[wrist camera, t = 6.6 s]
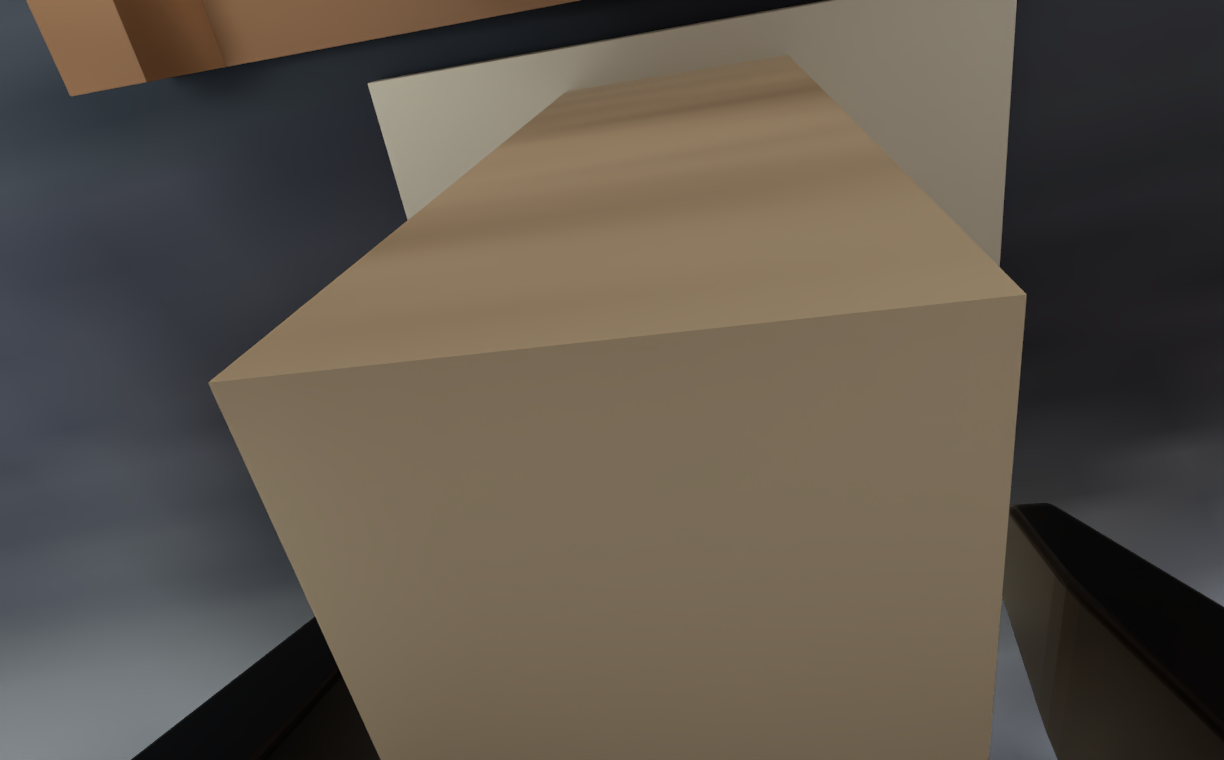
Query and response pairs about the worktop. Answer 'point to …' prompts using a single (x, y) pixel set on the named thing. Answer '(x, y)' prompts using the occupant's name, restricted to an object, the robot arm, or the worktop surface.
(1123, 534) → the worktop surface
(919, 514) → the birch board
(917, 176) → the cream rectangular plate
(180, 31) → the rack
